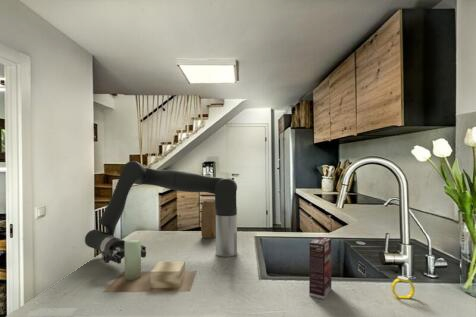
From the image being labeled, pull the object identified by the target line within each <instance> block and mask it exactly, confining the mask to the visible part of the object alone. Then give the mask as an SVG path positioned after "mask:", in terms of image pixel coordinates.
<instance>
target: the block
mask: <svg viewBox="0 0 476 317" xmlns="http://www.w3.org/2000/svg"><path fill="white" fill-rule="evenodd" d="M200 210H201V212H200V217H201V218H200V223H201V225H200V230H201V237H202V238H204V239H214V238H216V209H215V198H214V199H213V198H212V199H208V198H207V199H204V200H203V201H202V202H201V209H200Z"/></svg>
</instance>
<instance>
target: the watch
mask: <svg viewBox="0 0 476 317" xmlns="http://www.w3.org/2000/svg"><path fill="white" fill-rule="evenodd" d="M399 282H403V283H409V284H410V286H411V289H410V293H409V294H407V295H398V294H397V293H396V291H395V289H396V288H395V287H396V286H397V284H398V283H399ZM390 286H391V287H390V289H391V292H392V294H393V295H394V296H395V297H396V298H397V299H400V300H401V299H405V300H409V299H411V298H412V297H413V296H415V293H416V292H415V291H416V290H415V289H416V288H415V285H414V284H413V283H412V281H411V280H410V279H409V278H408V277H406V276H404V275H398V276H397V278H395V279H394V280H392V283H391V285H390Z"/></svg>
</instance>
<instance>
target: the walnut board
mask: <svg viewBox="0 0 476 317" xmlns="http://www.w3.org/2000/svg"><path fill="white" fill-rule="evenodd" d="M151 271H152V270H150V271H142V270H141V277H140V278H138V279H134V280H126V279H125V271H123V272H122V273H121V274H120V275H119V276H117V277H116V279H114V281H113V282H112V283H110V285H108V287H106V289H105V290H104V291H103V293H138V292H139V293H142V292H144V293H146V292H147V293H150V292H151V293H153V292H155V293H156V292H190V291H191V289H192V286H193V283H194V280H195V277H196V275H197V270H185V277H184V279H183V281H182V284H181V286H180V288H151Z"/></svg>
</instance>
